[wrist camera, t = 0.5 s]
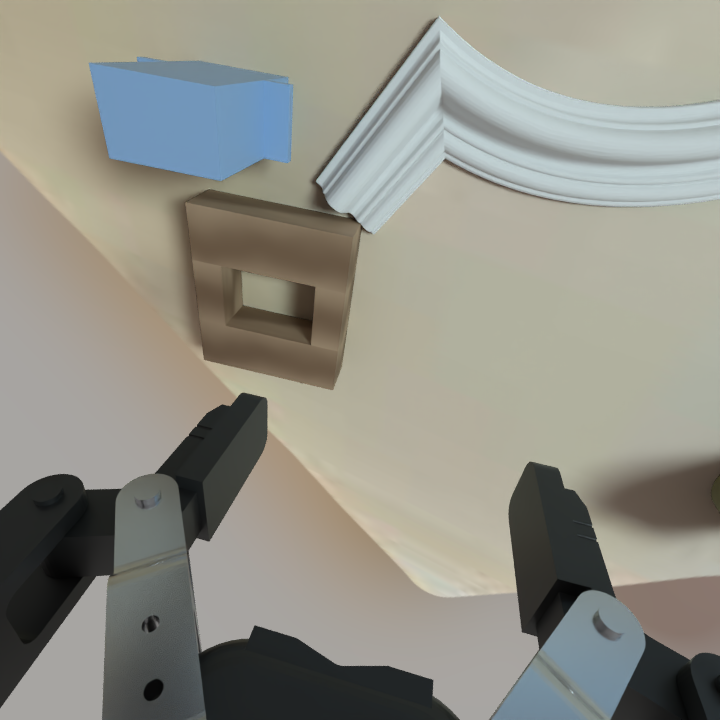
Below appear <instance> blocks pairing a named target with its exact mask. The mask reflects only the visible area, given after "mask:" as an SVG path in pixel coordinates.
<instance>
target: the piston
mask: <svg viewBox="0 0 720 720" xmlns="http://www.w3.org/2000/svg"><path fill="white" fill-rule="evenodd" d="M711 497H712V500H713V502H714V504H715V506H716V508H717V509H718V511H719V513H720V475H719V476H718V478H717V479H716V480H715V482H714V484H713V486H712V490H711Z"/></svg>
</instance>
